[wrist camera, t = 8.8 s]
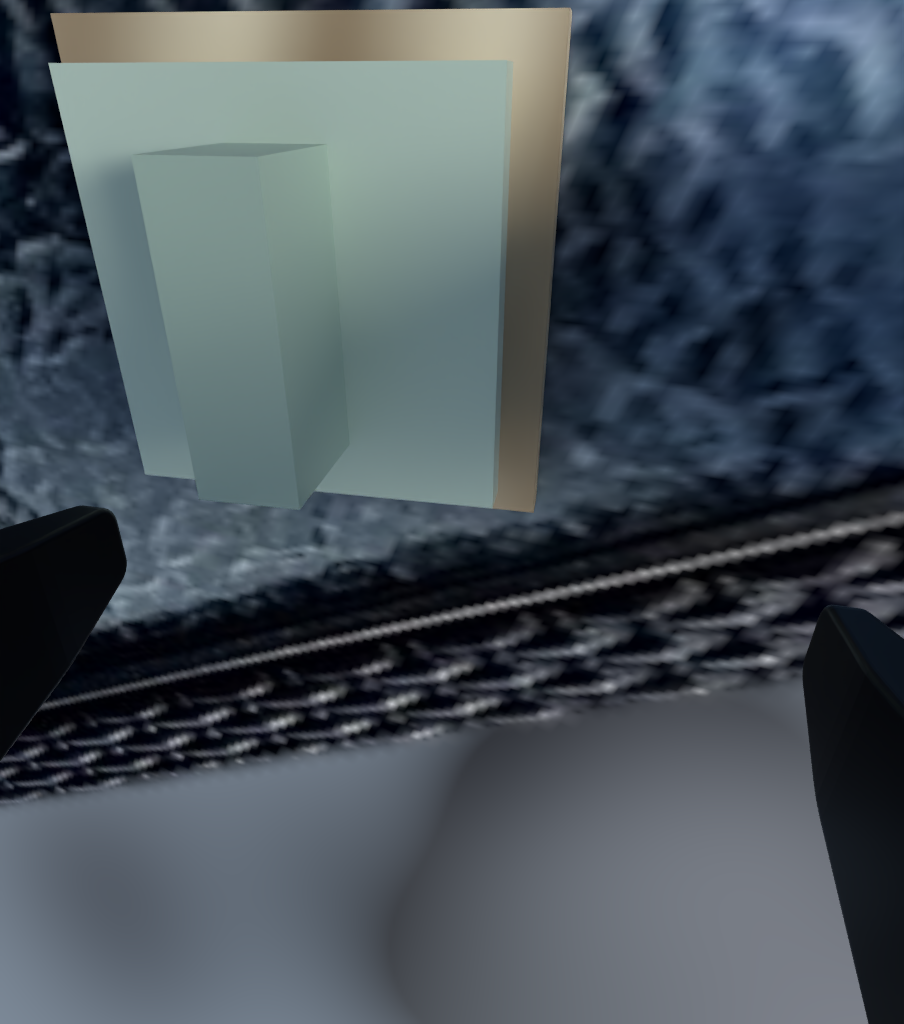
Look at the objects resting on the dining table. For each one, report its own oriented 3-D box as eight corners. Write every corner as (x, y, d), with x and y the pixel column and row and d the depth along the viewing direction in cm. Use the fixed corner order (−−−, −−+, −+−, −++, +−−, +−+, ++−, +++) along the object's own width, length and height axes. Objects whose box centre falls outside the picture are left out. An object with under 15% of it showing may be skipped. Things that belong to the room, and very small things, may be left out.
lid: (518, 63, 16) (477, 51, 11) (501, 477, 21) (469, 585, 16) (98, 65, 17) (-84, 57, 13) (177, 448, 22) (66, 538, 18)
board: (572, 11, 16) (569, 8, 15) (536, 499, 22) (533, 512, 21) (72, 16, 18) (50, 13, 17) (166, 462, 24) (152, 473, 23)
